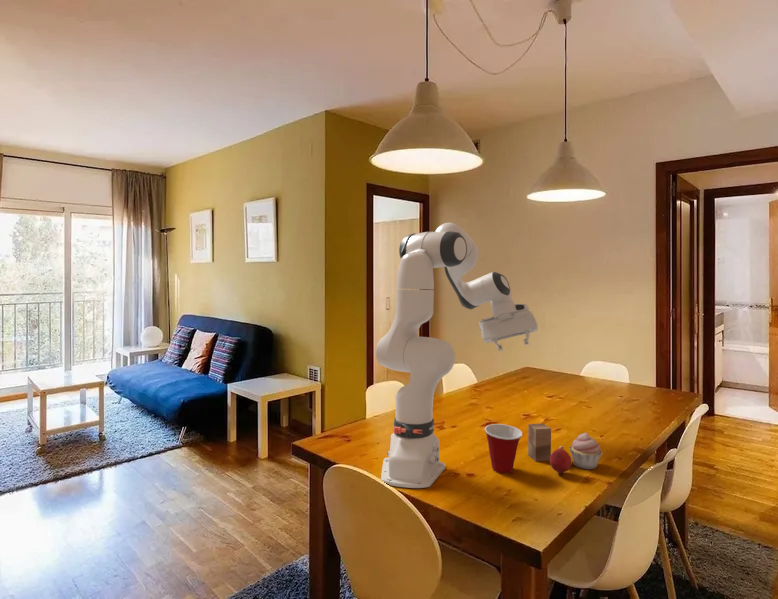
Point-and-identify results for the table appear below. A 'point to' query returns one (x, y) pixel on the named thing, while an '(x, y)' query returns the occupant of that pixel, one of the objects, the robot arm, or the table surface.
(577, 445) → the cupcake
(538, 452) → the walnut block
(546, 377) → the table surface
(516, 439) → the plastic cup
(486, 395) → the table surface
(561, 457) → the onion
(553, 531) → the table surface
